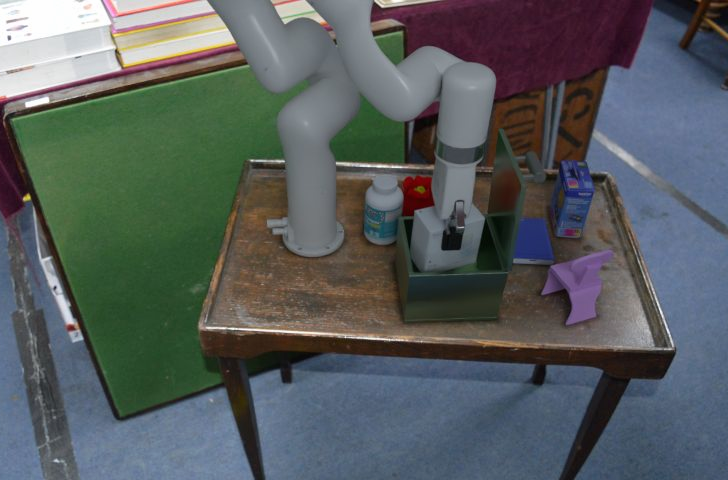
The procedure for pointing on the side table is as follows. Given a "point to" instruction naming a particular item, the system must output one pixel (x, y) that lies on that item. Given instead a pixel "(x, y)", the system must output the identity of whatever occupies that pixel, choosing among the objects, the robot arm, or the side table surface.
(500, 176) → the green box lid
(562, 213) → the ink cartridge box
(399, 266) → the green open box
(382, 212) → the pill bottle
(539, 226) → the hard drive
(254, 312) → the side table surface
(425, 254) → the cosmetics box
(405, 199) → the flower
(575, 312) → the purple stand
